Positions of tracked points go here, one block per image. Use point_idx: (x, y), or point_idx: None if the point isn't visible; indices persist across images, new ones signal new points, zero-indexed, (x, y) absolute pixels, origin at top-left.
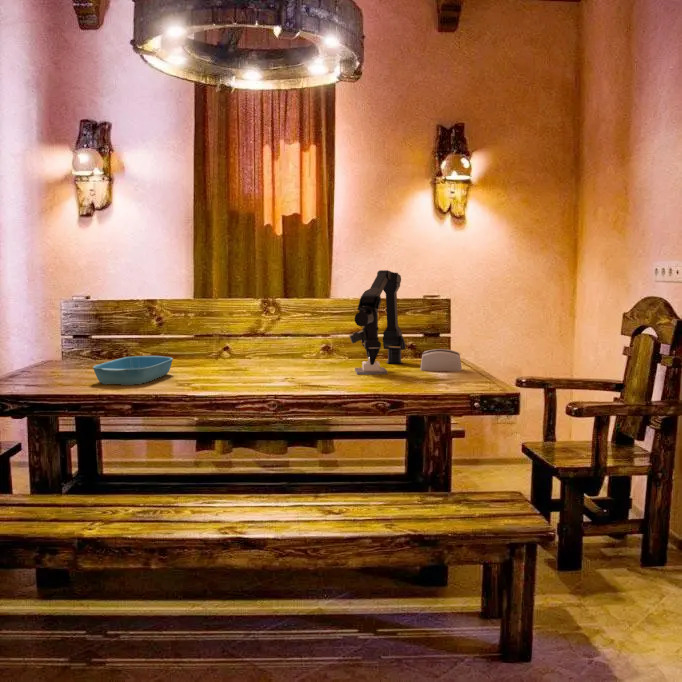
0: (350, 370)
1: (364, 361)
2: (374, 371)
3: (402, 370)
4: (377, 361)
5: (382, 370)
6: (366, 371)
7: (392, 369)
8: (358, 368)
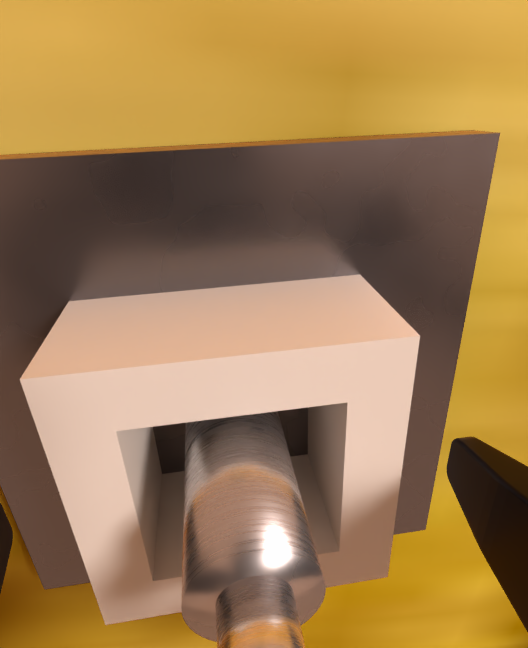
0: (479, 35)
1: (389, 380)
2: (28, 458)
3: (335, 635)
4: (343, 575)
5: None
6: (6, 346)
7: (420, 566)
8: (398, 204)
